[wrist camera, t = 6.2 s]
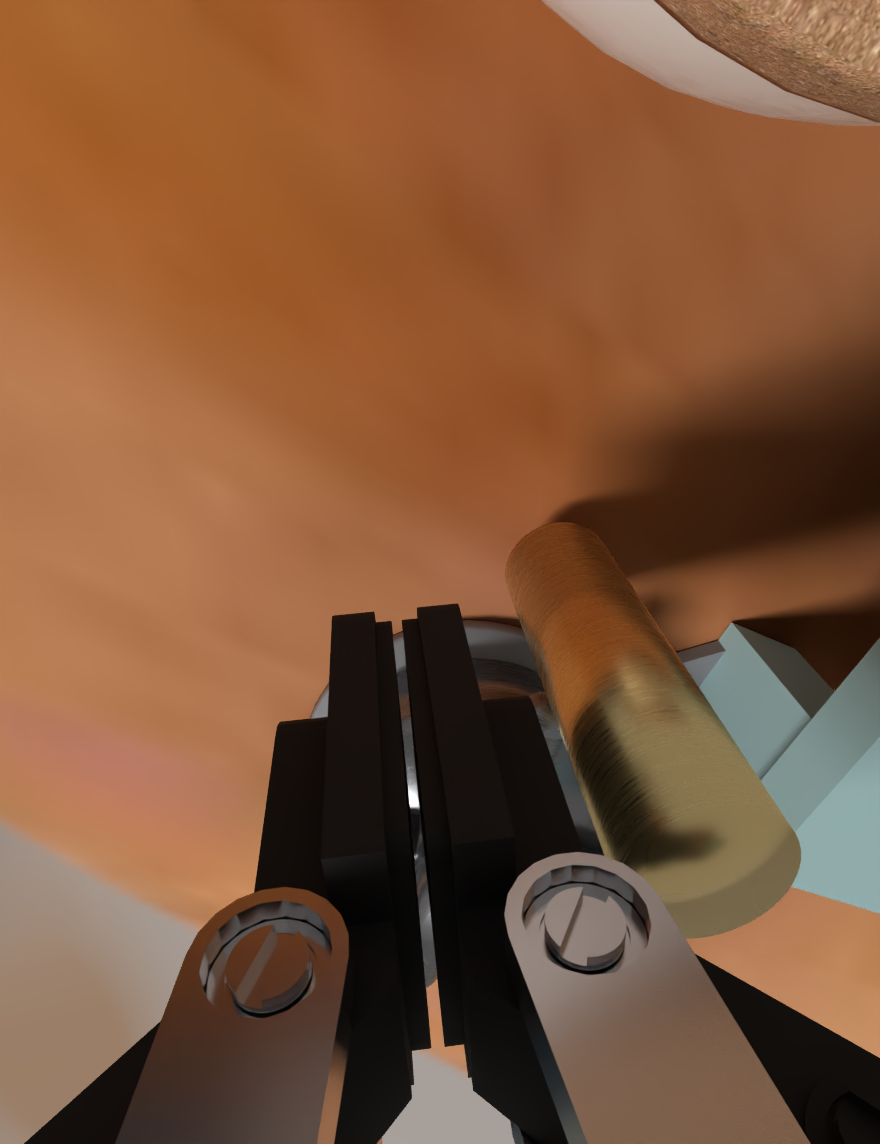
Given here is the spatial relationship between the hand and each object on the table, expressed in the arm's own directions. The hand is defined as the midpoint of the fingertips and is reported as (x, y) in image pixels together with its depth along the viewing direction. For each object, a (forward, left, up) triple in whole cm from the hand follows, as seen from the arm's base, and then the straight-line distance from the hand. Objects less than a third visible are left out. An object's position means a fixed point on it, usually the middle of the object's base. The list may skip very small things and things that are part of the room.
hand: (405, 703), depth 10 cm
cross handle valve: (+3, -3, -4) cm, 6 cm away
